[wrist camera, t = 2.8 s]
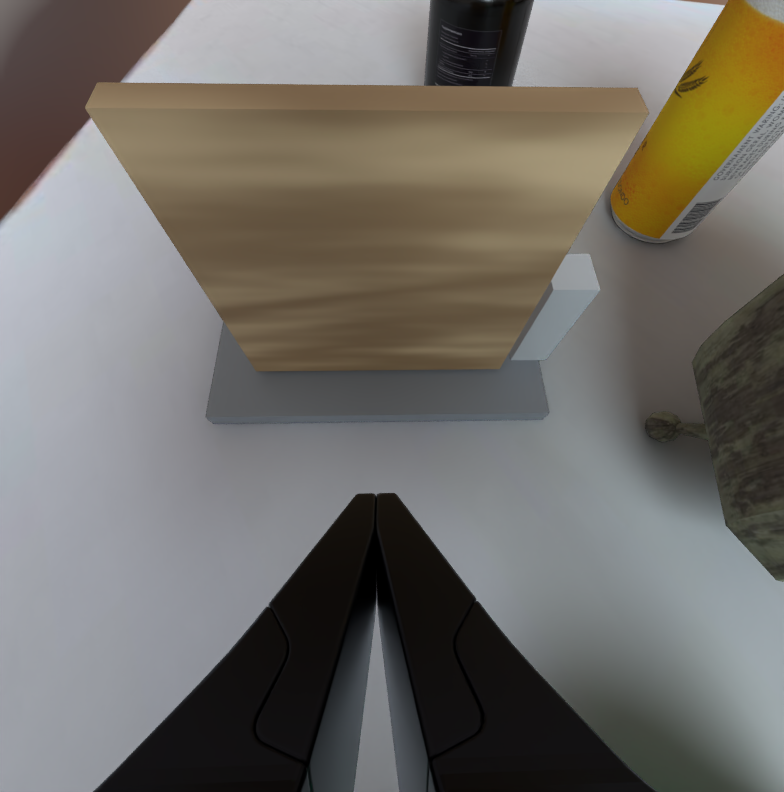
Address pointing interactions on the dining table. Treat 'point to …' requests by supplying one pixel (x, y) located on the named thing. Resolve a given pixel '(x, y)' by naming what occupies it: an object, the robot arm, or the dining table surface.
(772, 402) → the tabletop clock
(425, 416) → the housing stand
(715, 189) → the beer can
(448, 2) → the supplement bottle
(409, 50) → the dining table surface
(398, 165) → the door
